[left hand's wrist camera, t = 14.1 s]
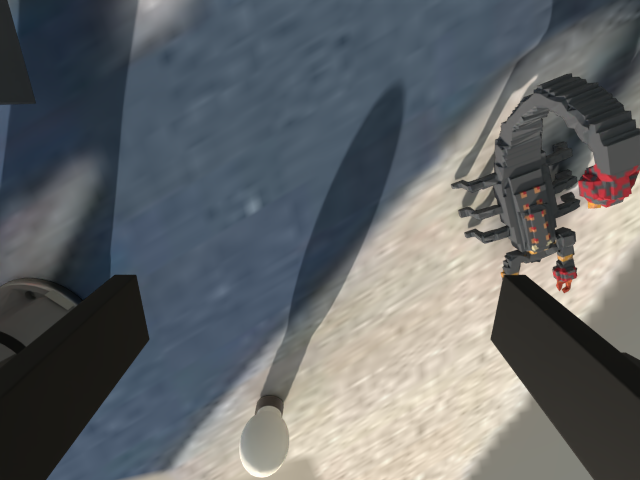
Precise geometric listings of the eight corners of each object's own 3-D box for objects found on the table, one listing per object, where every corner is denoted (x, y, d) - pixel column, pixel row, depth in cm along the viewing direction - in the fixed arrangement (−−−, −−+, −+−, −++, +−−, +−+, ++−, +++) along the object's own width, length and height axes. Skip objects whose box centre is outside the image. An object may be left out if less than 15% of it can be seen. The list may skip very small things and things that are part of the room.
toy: (550, 61, 38) (741, 22, 21) (583, 269, 47) (736, 363, 29) (430, 111, 40) (515, 113, 22) (483, 302, 48) (573, 409, 31)
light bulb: (248, 418, 56) (231, 488, 45) (250, 384, 53) (234, 450, 43) (290, 422, 56) (283, 493, 46) (294, 389, 54) (288, 456, 43)
